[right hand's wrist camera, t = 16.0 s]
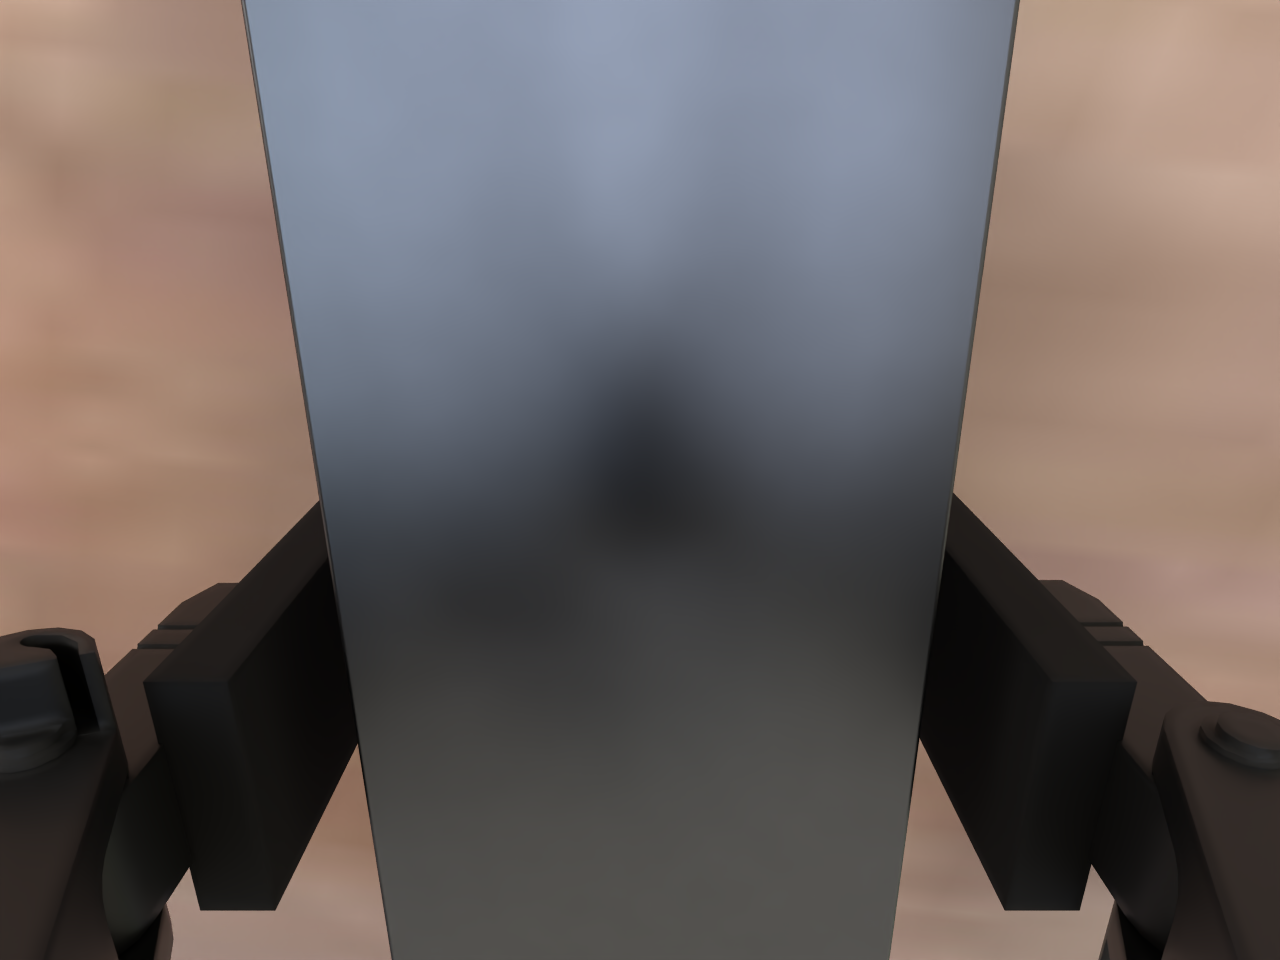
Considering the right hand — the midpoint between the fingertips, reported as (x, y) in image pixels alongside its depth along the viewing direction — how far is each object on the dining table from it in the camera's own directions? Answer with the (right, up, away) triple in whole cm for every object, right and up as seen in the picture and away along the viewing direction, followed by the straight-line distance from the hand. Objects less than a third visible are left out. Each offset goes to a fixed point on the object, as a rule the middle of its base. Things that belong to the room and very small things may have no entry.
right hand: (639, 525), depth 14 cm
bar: (0, +9, 0) cm, 9 cm away
